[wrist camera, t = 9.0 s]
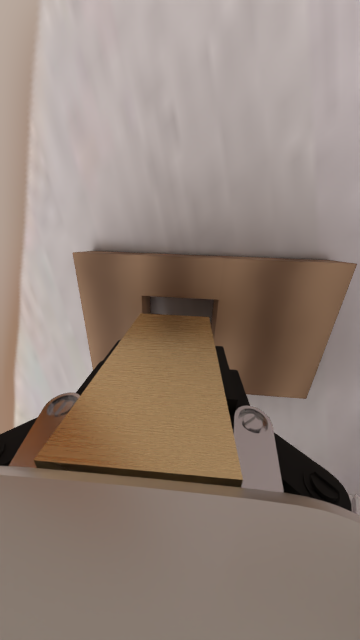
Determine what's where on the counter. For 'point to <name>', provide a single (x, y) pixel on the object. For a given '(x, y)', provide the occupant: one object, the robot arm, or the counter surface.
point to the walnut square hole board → (224, 308)
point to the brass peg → (152, 410)
